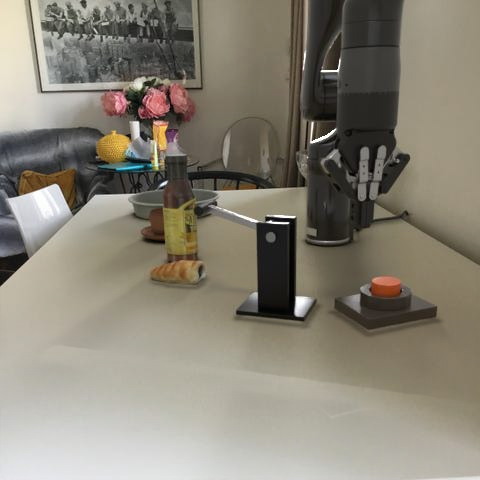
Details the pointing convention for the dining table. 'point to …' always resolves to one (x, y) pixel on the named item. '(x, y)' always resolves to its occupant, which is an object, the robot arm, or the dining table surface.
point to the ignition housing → (384, 308)
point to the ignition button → (385, 286)
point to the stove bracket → (277, 273)
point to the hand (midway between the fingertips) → (361, 227)
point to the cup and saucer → (155, 225)
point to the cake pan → (155, 200)
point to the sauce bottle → (179, 211)
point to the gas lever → (225, 214)
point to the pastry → (180, 272)
